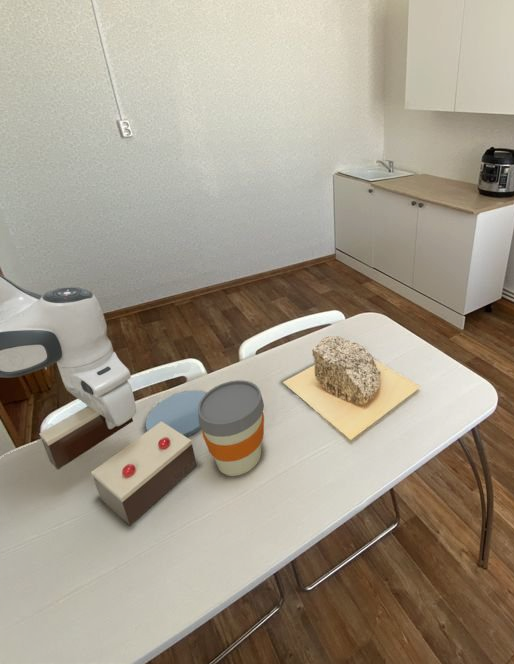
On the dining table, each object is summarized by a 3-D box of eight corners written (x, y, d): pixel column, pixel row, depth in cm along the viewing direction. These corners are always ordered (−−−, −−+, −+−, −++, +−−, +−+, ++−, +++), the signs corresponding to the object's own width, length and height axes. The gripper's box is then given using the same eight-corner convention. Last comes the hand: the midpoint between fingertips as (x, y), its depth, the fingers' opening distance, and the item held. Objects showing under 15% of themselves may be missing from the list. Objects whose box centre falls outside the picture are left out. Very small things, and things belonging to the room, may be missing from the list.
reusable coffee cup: (233, 427, 89) (224, 374, 84) (280, 441, 85) (274, 387, 79) (194, 473, 78) (181, 415, 72) (246, 492, 74) (236, 432, 68)
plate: (133, 425, 90) (131, 421, 89) (188, 386, 102) (187, 383, 101) (172, 452, 83) (171, 448, 82) (227, 407, 95) (226, 403, 94)
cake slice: (49, 461, 73) (38, 433, 71) (124, 414, 84) (117, 388, 82) (57, 470, 71) (46, 441, 69) (133, 421, 82) (126, 395, 80)
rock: (280, 382, 102) (300, 324, 103) (336, 383, 118) (354, 332, 118) (348, 440, 83) (373, 367, 83) (406, 432, 98) (426, 371, 99)
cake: (100, 498, 73) (88, 465, 70) (167, 445, 84) (159, 414, 81) (130, 526, 68) (118, 491, 65) (197, 465, 79) (189, 433, 76)
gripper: (44, 357, 76) (63, 412, 81) (99, 394, 67) (117, 453, 72) (79, 341, 82) (95, 393, 86) (135, 373, 72) (149, 430, 77)
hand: (105, 421), depth 79 cm, fingers closed on cake slice, 3 cm apart
